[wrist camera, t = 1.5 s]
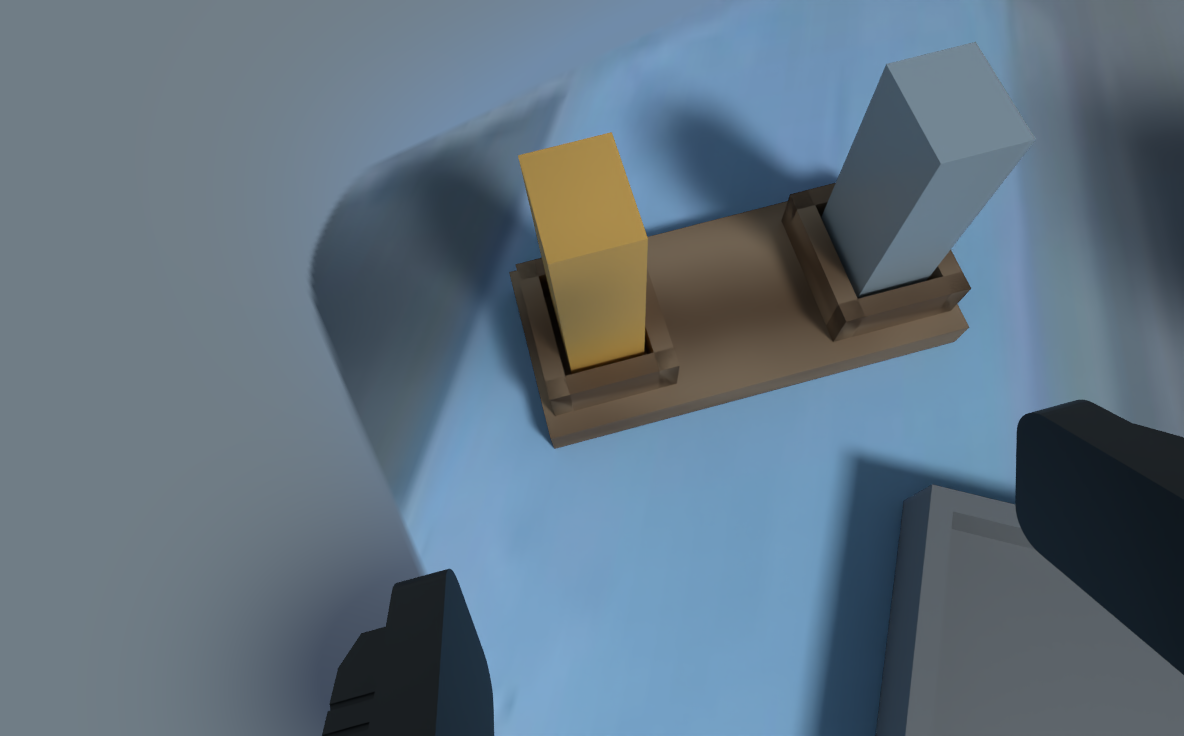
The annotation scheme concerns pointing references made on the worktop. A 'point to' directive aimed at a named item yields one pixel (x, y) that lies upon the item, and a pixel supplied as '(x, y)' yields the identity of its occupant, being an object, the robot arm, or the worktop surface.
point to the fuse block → (734, 321)
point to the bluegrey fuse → (922, 167)
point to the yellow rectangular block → (590, 249)
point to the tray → (1008, 637)
